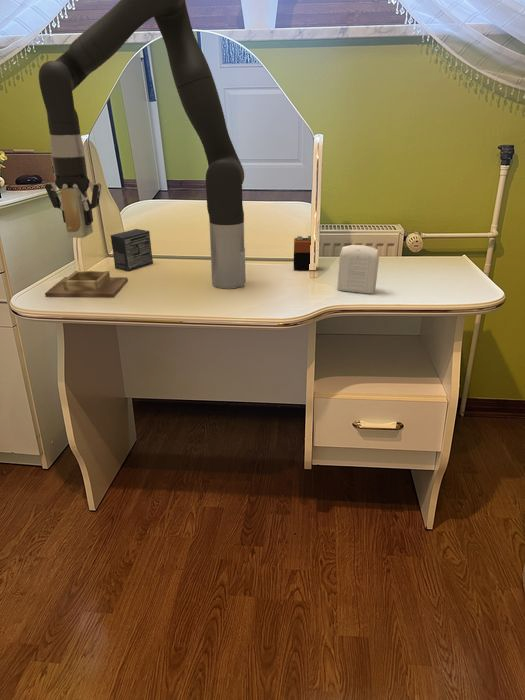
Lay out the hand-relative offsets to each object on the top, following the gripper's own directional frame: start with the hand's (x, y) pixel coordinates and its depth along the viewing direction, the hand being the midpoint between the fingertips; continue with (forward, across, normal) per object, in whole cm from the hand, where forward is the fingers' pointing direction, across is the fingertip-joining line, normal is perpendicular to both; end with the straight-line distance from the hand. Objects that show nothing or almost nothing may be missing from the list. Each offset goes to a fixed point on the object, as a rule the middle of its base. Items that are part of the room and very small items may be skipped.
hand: (78, 224), depth 134 cm
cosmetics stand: (+17, 0, 0) cm, 17 cm away
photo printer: (+17, -73, 0) cm, 75 cm away
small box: (+18, -7, -22) cm, 29 cm away
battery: (+17, -60, -20) cm, 66 cm away
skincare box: (+3, 0, 0) cm, 3 cm away
